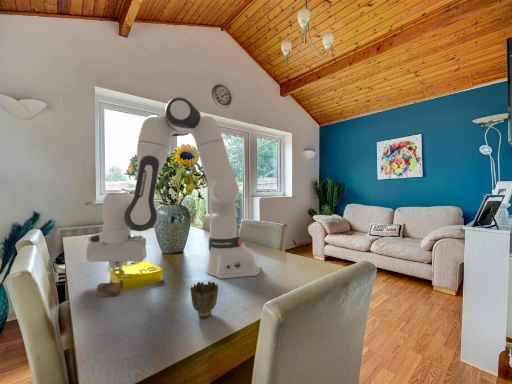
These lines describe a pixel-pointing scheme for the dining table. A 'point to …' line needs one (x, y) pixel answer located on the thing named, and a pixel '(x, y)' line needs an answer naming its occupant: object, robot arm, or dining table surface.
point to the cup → (204, 298)
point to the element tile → (137, 275)
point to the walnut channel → (110, 287)
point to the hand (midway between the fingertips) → (117, 272)
